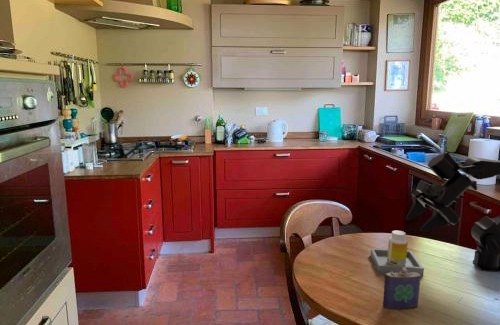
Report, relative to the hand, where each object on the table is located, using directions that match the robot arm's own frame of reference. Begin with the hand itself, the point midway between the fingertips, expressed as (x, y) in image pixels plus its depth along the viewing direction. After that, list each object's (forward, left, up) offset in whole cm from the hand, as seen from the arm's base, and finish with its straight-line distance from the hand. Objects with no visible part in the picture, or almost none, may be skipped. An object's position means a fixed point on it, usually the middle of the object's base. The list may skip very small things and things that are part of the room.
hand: (413, 224), depth 120 cm
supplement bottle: (+5, +1, -13) cm, 14 cm away
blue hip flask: (+9, +26, -14) cm, 31 cm away
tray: (+5, +1, -13) cm, 14 cm away
